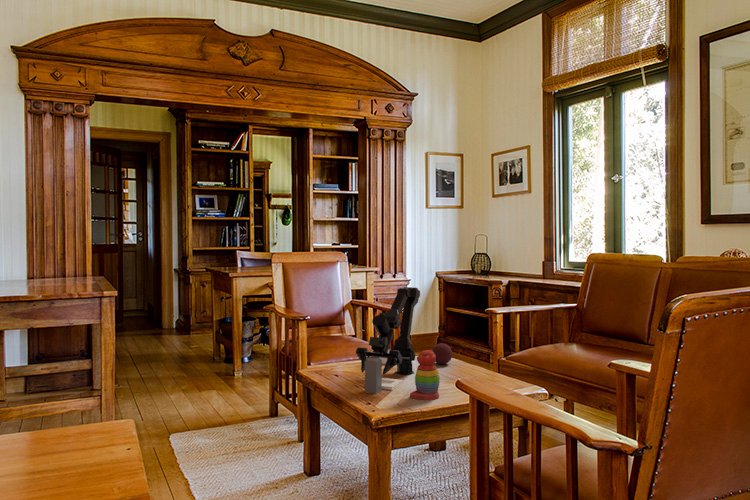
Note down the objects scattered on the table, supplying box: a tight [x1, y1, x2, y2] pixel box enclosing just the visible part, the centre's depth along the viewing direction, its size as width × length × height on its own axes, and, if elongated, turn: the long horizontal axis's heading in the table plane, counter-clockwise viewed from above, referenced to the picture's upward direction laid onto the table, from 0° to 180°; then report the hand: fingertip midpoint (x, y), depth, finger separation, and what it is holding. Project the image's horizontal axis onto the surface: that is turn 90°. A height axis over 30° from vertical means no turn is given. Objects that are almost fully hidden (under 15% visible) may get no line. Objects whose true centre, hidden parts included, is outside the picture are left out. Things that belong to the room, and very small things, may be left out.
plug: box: [364, 356, 383, 395], centre depth 215 cm, size 5×5×13 cm
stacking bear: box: [409, 349, 441, 401], centre depth 209 cm, size 11×10×18 cm
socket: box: [382, 377, 404, 391], centre depth 226 cm, size 12×12×1 cm
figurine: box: [380, 349, 390, 365], centre depth 265 cm, size 7×9×15 cm
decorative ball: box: [431, 342, 453, 365], centre depth 263 cm, size 10×10×10 cm
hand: (372, 373), depth 215 cm, fingers open, 9 cm apart
